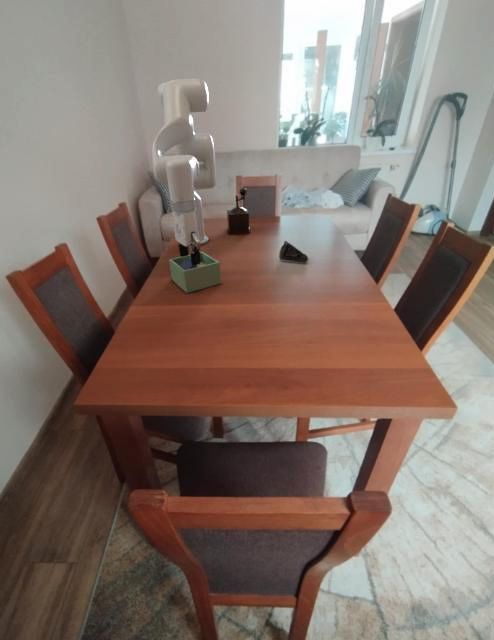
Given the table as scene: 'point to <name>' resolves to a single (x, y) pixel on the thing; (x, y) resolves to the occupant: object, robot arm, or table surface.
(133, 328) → the table surface
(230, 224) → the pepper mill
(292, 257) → the chocolate cake
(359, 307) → the table surface
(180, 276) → the bin
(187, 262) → the navy block
